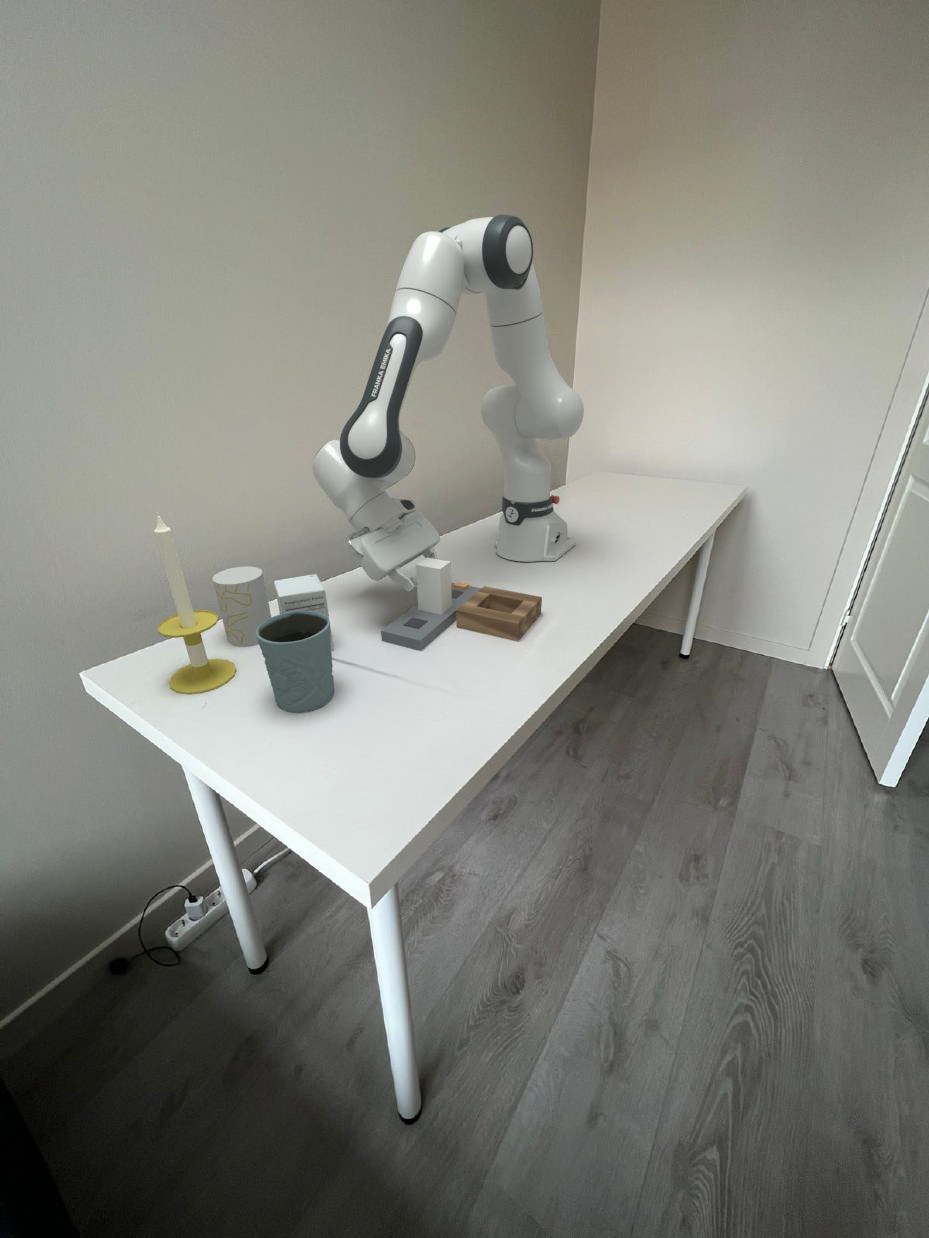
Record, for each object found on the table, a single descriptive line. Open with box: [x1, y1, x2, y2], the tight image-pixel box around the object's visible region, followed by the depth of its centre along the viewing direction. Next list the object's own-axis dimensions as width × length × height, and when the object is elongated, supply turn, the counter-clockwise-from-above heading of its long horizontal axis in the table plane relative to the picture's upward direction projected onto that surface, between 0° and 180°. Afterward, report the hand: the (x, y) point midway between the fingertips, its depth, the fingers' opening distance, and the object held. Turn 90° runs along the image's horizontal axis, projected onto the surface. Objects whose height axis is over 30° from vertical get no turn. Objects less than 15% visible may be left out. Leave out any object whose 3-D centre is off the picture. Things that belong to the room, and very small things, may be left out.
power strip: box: [380, 581, 483, 652], centre depth 101 cm, size 24×8×4 cm, turn 153°
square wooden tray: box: [455, 585, 543, 643], centre depth 99 cm, size 12×12×4 cm
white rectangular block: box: [415, 558, 452, 615], centre depth 99 cm, size 4×5×11 cm
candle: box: [153, 512, 237, 695], centre depth 80 cm, size 10×10×27 cm
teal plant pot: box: [256, 611, 335, 714], centre depth 78 cm, size 10×10×12 cm
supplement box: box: [273, 573, 335, 652], centre depth 90 cm, size 7×7×13 cm
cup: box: [211, 565, 272, 648], centre depth 95 cm, size 8×8×12 cm
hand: (427, 579), depth 98 cm, fingers open, 8 cm apart
